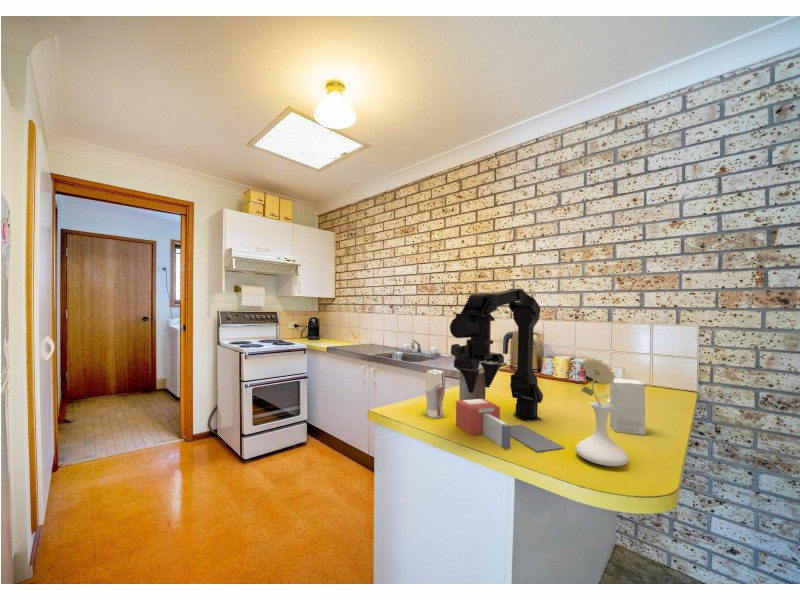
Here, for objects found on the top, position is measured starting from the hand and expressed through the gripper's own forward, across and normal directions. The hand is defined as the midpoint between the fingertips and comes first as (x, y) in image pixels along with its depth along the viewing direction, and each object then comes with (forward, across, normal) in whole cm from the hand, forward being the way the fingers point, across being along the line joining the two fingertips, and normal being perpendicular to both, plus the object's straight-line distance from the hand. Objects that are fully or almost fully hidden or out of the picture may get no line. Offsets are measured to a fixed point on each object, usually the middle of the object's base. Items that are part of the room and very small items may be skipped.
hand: (479, 389), depth 98 cm
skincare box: (+14, -38, +30) cm, 50 cm away
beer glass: (+14, -5, -20) cm, 25 cm away
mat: (+13, -9, +11) cm, 19 cm away
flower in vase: (+14, -9, +29) cm, 33 cm away
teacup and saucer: (+14, -77, +22) cm, 81 cm away
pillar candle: (+14, -23, -17) cm, 32 cm away
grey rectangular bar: (+13, -2, +3) cm, 14 cm away
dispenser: (+13, -5, -4) cm, 15 cm away
